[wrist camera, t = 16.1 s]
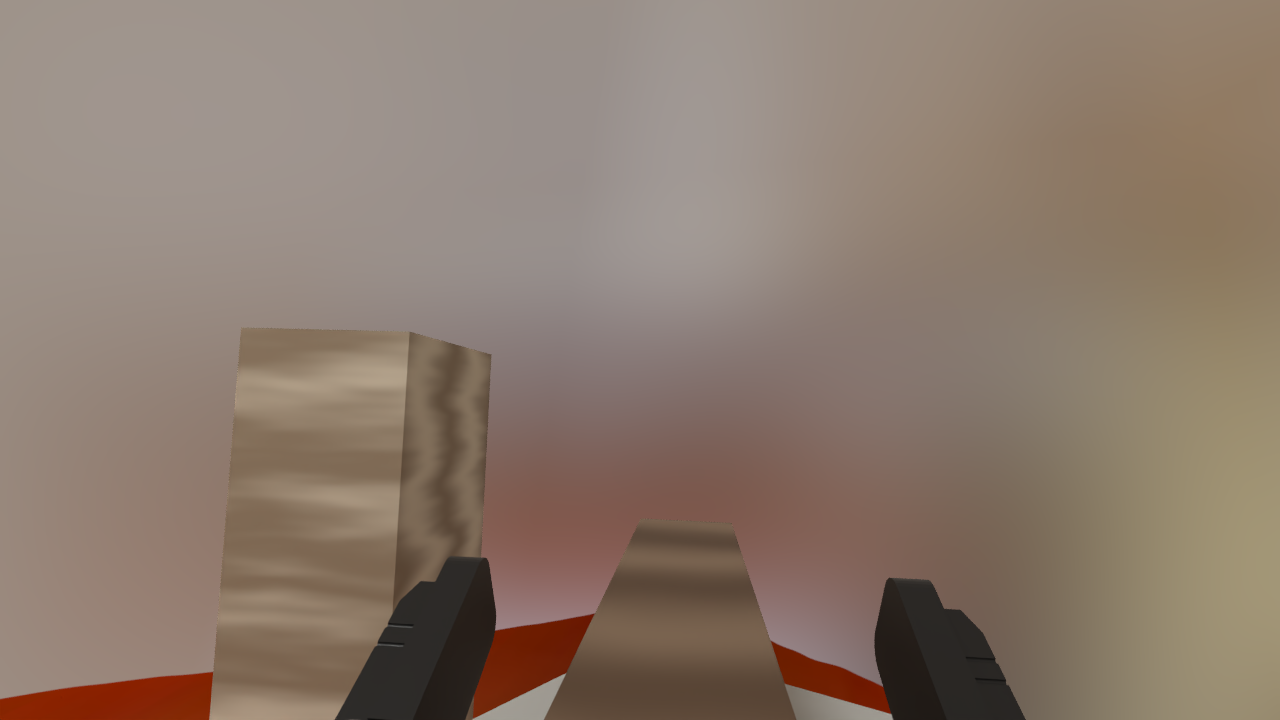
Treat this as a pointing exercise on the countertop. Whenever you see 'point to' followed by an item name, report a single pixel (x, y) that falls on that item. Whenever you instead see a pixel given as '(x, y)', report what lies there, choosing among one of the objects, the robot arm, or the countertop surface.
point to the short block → (813, 711)
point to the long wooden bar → (676, 636)
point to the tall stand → (339, 506)
